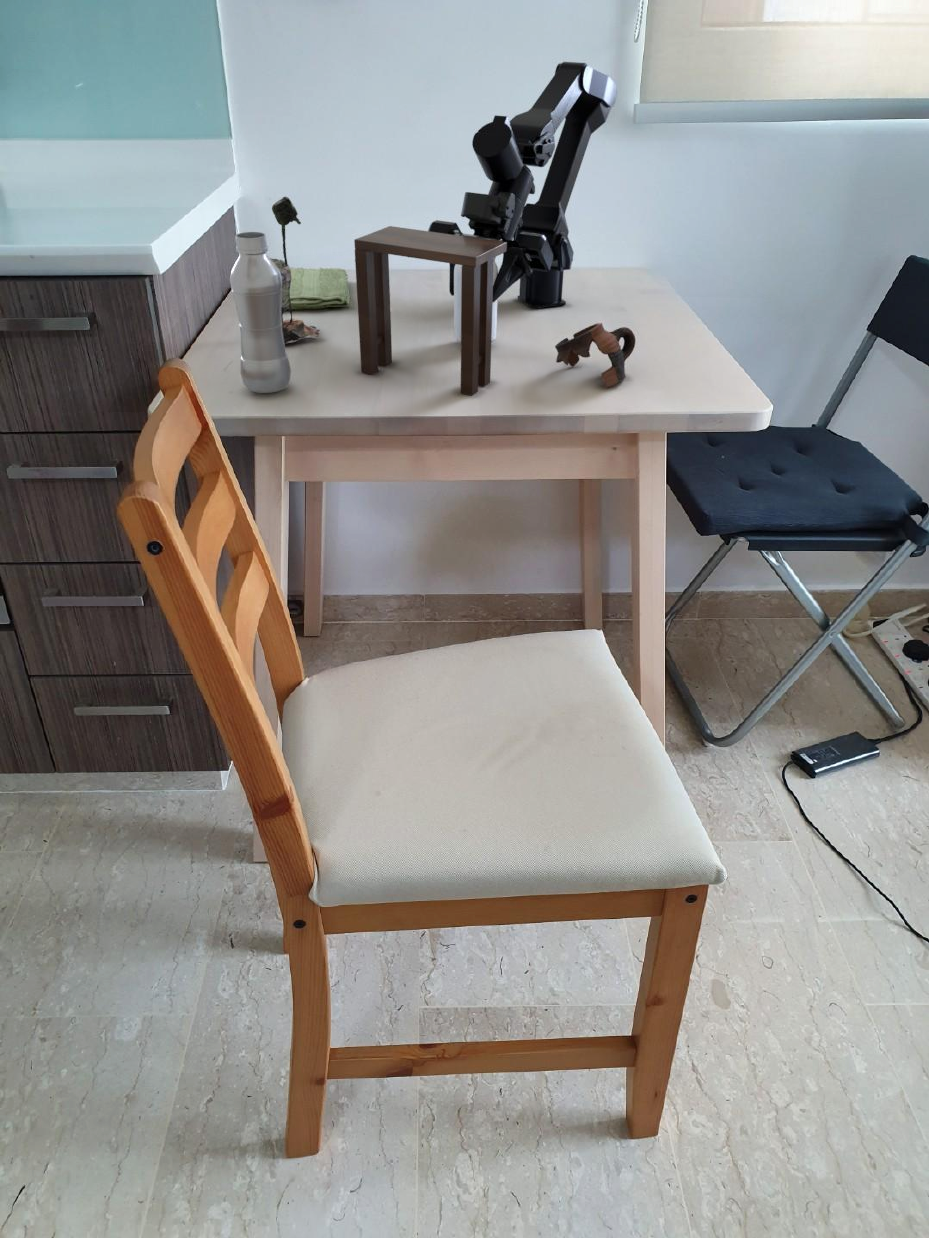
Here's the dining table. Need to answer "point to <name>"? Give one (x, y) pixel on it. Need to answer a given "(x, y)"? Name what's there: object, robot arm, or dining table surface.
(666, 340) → the dining table surface
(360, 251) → the desk
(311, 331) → the plant with pod
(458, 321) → the can
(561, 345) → the brown jagged looped part
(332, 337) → the dining table surface
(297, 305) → the washcloth
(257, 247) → the plastic bottle
